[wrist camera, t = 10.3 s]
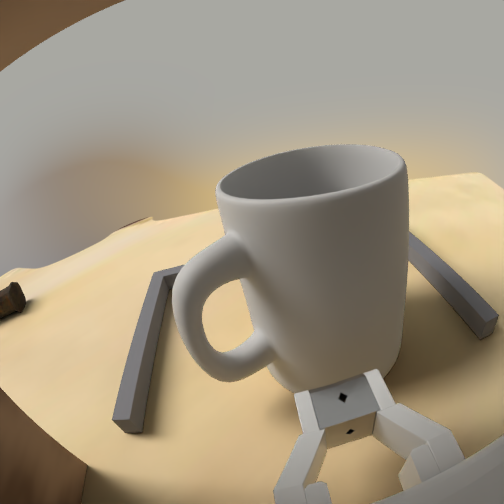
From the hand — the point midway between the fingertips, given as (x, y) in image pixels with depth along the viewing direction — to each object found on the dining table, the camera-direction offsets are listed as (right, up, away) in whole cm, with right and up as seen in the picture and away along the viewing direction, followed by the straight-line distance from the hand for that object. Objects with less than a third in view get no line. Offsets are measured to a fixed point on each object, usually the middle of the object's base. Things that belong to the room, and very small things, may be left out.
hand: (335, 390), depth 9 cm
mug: (+1, -2, +8) cm, 8 cm away
